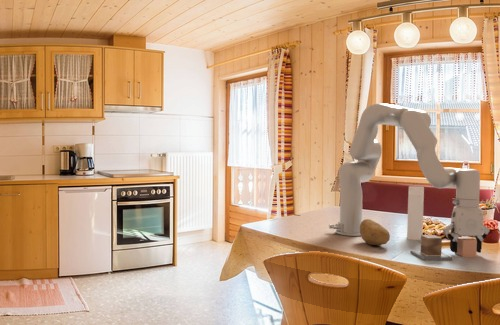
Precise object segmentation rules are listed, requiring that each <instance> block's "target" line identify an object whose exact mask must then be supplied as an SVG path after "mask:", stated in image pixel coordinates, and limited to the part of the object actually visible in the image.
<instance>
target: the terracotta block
mask: <svg viewBox="0 0 500 325" xmlns="http://www.w3.org/2000/svg"><path fill="white" fill-rule="evenodd" d="M456 242H457V253H454V254H455V255H458V256H460V257H463V258H467V257H468V258H475V257H476V258H477V252H476V251H477V240H476V238H472V237H471V236H459V237H458V238H457V240H456Z"/></svg>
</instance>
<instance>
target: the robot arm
mask: <svg viewBox="0 0 500 325" xmlns="http://www.w3.org/2000/svg"><path fill="white" fill-rule="evenodd" d="M431 124H432V119H431V115H430V114H429V113H428V112H427V111H424V110H421V109H414V108H410V107H405V106H400V105H396V104H389V103H374V104H370V105H369V106H367V107H366V108H365V109H364V110H363V112H362V114H361V116H360V119H359V123H358V126H357V128H356V131H355V134H354V136H353V138H352V141H351V142H352V143H350V148H349V155H350V157H351V158H352V159H353V161H346V162H344V163H342V164H341V165H340V166H339V170H338V181H339V192H340V193H339V201H340V202H339V203H340V204H339V206H340V207H339V221H337V223H335V224H334V223H330V224H329V223H328V229H330V230H331V229H332V230H335V233H336V234H338V235H341V236H348V237H358V236H359V237H361V234H360V225H361V222H362V221H363V197H364V196H363V189H362V185H361V184H362V183H366V182H368V181H370V180H371V179H372V178H373V176H374V174H375V172H376V169H377V166H378V164H379V161H380V159H381V156H382V152H383V151H382V150H383V149H382V145H381V143H380V142H379V141H378V140H377V135H378V131H379V125H383V126H385V125H386V126H394V127H399V128H402V130H403V131H404V133H405V135H406V136H407V138H408V140H409V141H410V143H411V145H412V146H413V148H414V149H415V152H416V159H417V162H418V166H419V169H420V171H421V172H422V175H423V176H424V178H426V180H427V182H428V183H429V184H430V185H431V186H432V187H434V188H436V189H447V188H448V189H449V188H455V200H452V204H453V205H455V206H453V209H452V212H451V219H450V220H451V221H450V224H449V225H447V226H445V227H444V228H443V229H442V232H443V233H444V235H445V236H446V237H447V238H448V240H449V248H450V252H452V253H454V254H455V253H457V242H456V240H457V238H458V237H474V239H476V240H477V251H476V253H479V254H480V253H481V252H482V246H483V243H482V242H484V239H486V238H487V236H488V234H489V232H490V229H489V228H488V227H487V226H485V224H484V215H483V209H482V208H481V207H480V191H481V190H480V186H481V172H480V171H479V170H478V169H475V168H457V167H452V166H450V167H444V165H442V163H441V161H440V159H439V157H438V156H437V152H436V147H437V144H438V139H437V137H436V135H435V134H434V132H433V131H432V129H431V128H430V127H431Z"/></svg>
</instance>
